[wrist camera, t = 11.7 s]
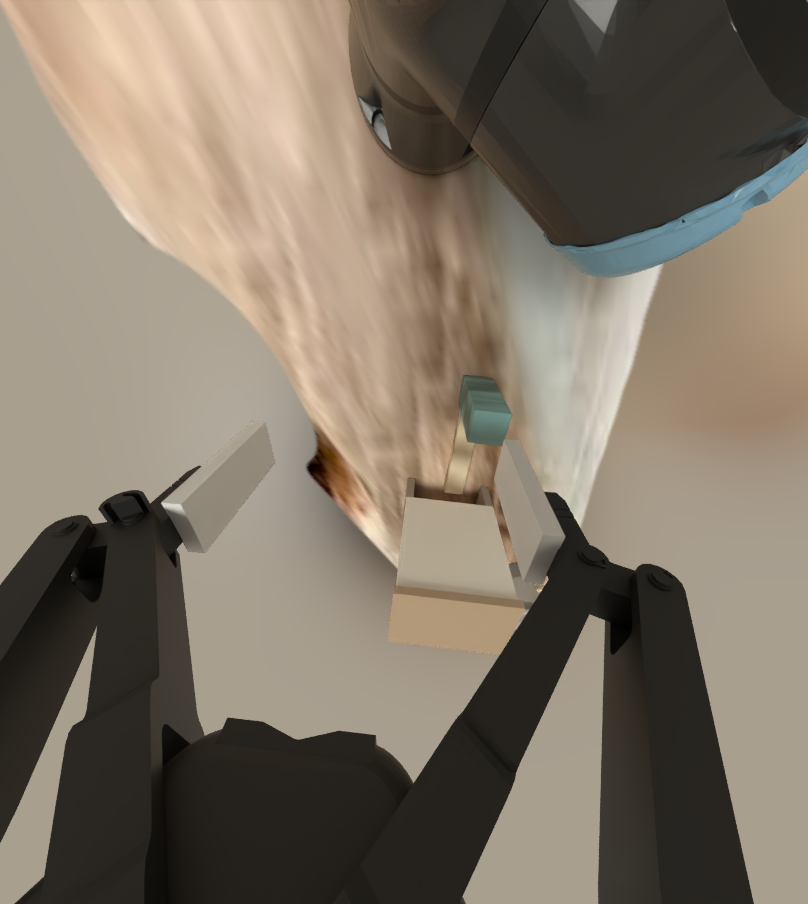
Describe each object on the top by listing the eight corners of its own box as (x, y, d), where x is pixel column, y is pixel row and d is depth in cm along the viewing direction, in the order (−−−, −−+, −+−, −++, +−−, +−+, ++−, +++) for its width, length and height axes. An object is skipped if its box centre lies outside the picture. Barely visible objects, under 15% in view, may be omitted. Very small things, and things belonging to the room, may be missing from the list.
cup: (530, 579, 64) (549, 638, 54) (498, 580, 65) (511, 638, 55) (533, 558, 61) (554, 616, 51) (499, 559, 62) (513, 617, 51)
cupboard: (406, 475, 52) (393, 593, 33) (490, 485, 52) (525, 608, 33) (400, 520, 58) (387, 641, 39) (476, 528, 57) (499, 655, 39)
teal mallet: (463, 375, 42) (474, 410, 32) (492, 378, 42) (512, 414, 32) (441, 485, 52) (444, 538, 42) (463, 488, 52) (472, 541, 42)
